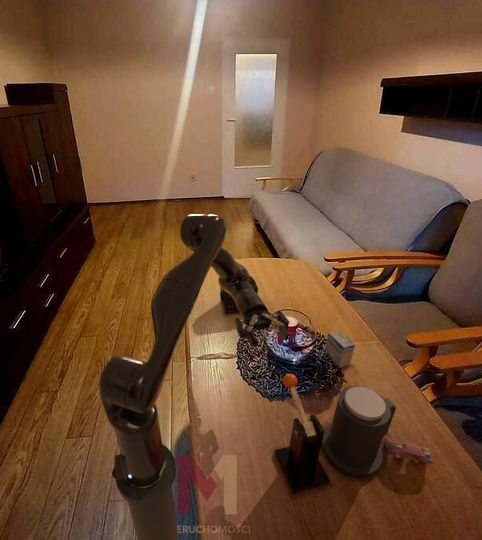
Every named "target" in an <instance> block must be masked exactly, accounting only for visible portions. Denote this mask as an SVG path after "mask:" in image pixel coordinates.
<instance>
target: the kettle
mask: <svg viewBox="0 0 482 540" xmlns="http://www.w3.org/2000/svg"><path fill="white" fill-rule="evenodd" d="M396 410H397V407H396V405H395V404H394V403H393V402H392V401H391V399H390V398H389V397H387V398H384V397H383V396H382V395H381V394H380V393H378V392H377V391H376V390H373V389H371V388H369V387H366V386H361V385H351V386H347V387H344V388H343V389H342V390H341V391H340V392H339V394H338V398H337V401H336V405H335V410H334V413H333V418H332V423H330V424H329V425H328V426H326V428H325V429H324V431H325V432H324V436H323V441H322V445H321V450H322V453H323V455H324V457H325V458H326V460H327V461H328V462H329V464H330V465H331V466H332V467H333V468H334V469H335V470H337V471H338V472H340V473H341V474H343V475H346V476H348V477H350V478H353V479H354V478H355V479H367V478H371V477H373V476H374V475H376V474H377V473H378V472H379V471H380V468H381V466H382V463H383V459H384V454H383V449H382V446H381V445H382V442H383V440H384V438H385V436H387V434H388V432H389V429H390V426H391V423H392V421H393V419H394V415H395V412H396Z"/></svg>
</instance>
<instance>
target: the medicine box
mask: <svg viewBox="0 0 482 540" xmlns="http://www.w3.org/2000/svg"><path fill="white" fill-rule="evenodd" d="M355 347H356V345H355V344H354V343H353V342H352V341H351V340H350V339H349V338H348V337H347V336H346V335H344V333H342V332H341V331H340V330H339V329H338V330H333V331H331V332H328V333H327V336H326V341H325V345H324V350H326V351H327V353H328V354H329V355H330V356H331V357H332V358H333V359H332V358H331V357H330V356H329V355H328V354H327V353H326V352H325V353H326V354H325V353H324V354H325V355H326V357H328V359H330V360H331V362H332V363H333V364H335V366H336V367H337V368H338V369H341V368H345V367H348V366H351V363H352V359H353V355H354V352H355Z"/></svg>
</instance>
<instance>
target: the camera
mask: <svg viewBox="0 0 482 540" xmlns="http://www.w3.org/2000/svg"><path fill="white" fill-rule="evenodd" d="M248 283H249V284H250V285H251V286H252V288H253V289H254V291H255V292H256V293H257V294H258V293H259V286H258V285H257V282H256V279H254V278H253V276H252V275H250V274H249V280H248ZM219 287H220V291H219V297H220V304H221V307H222V308H223V311H224V314H225V315H233V314H240V312H239V310H238V308H237V306H236V303H235V301H234V299H233V297H232V296H231V295H230V294H228V293H227V292H225V291H224V290H223V289H222V288H221V286H220V285H219ZM258 295H259V294H258Z"/></svg>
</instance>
